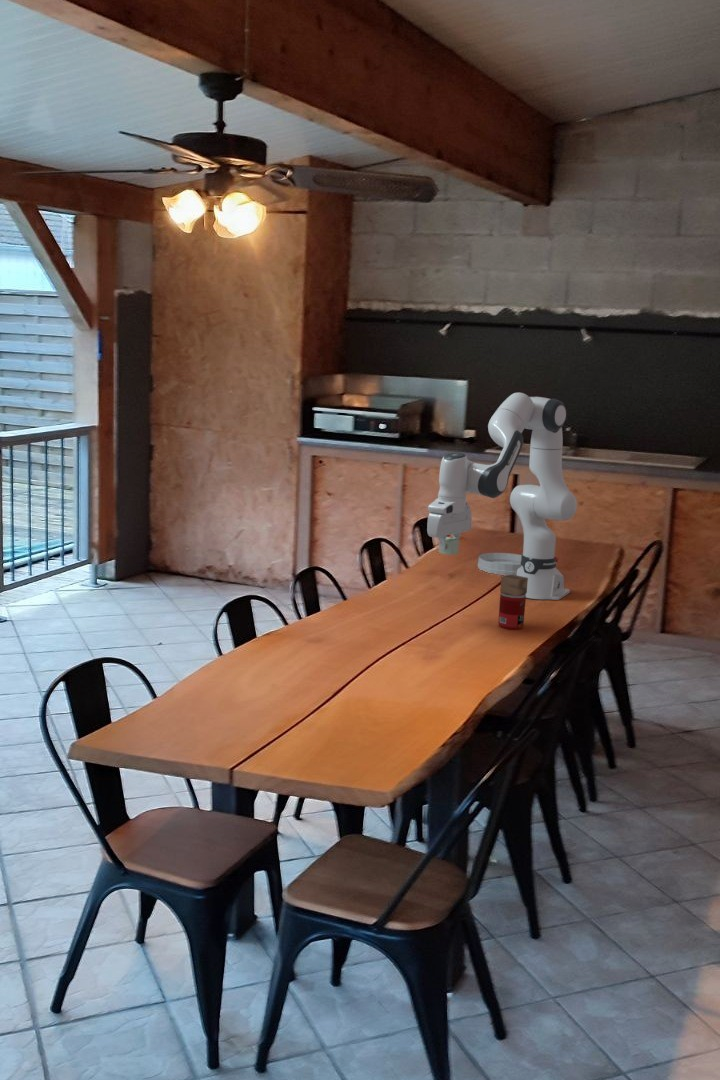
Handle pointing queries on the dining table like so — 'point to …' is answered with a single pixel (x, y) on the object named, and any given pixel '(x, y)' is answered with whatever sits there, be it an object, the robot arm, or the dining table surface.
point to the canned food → (511, 611)
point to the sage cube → (450, 546)
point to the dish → (500, 563)
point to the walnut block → (514, 585)
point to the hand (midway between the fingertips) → (448, 547)
